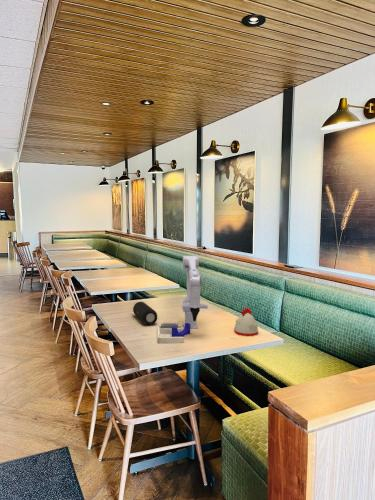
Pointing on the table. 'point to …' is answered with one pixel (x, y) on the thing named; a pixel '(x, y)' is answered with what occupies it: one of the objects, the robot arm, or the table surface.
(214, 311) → the table surface
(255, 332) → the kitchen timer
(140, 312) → the portable speaker
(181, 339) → the beige tray
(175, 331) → the cable clip
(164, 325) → the seated twin plug
